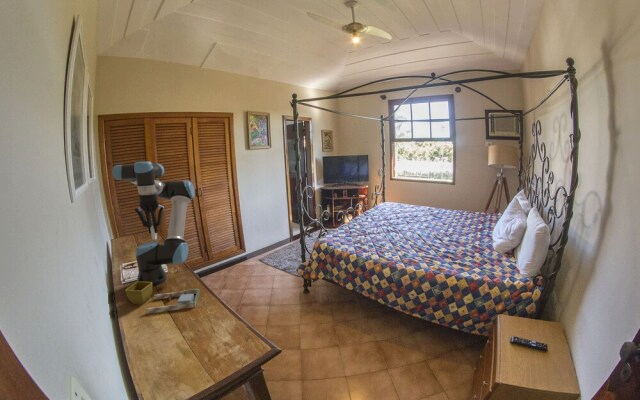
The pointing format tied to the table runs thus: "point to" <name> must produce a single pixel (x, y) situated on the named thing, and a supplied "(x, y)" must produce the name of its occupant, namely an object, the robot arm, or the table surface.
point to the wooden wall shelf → (177, 306)
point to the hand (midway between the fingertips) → (154, 239)
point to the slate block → (186, 298)
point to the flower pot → (139, 292)
